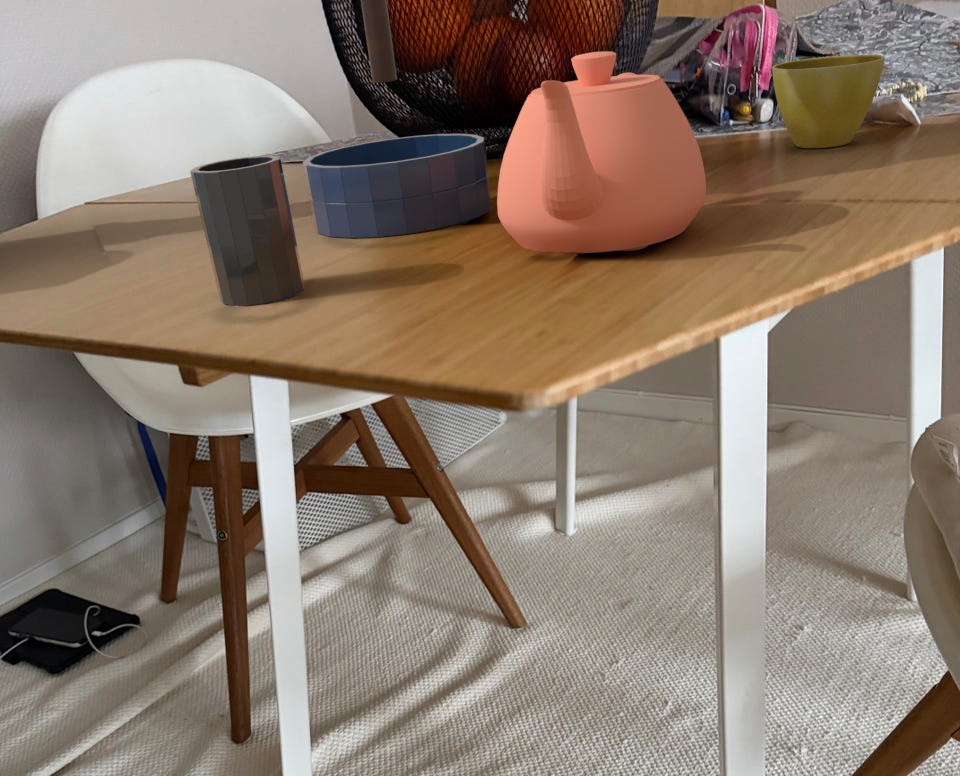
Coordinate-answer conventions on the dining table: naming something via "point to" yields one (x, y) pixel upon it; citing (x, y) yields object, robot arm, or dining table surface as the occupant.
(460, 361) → the dining table surface
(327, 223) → the bowl
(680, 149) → the teapot
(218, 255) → the utensil cup
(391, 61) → the stick
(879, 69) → the flower pot
